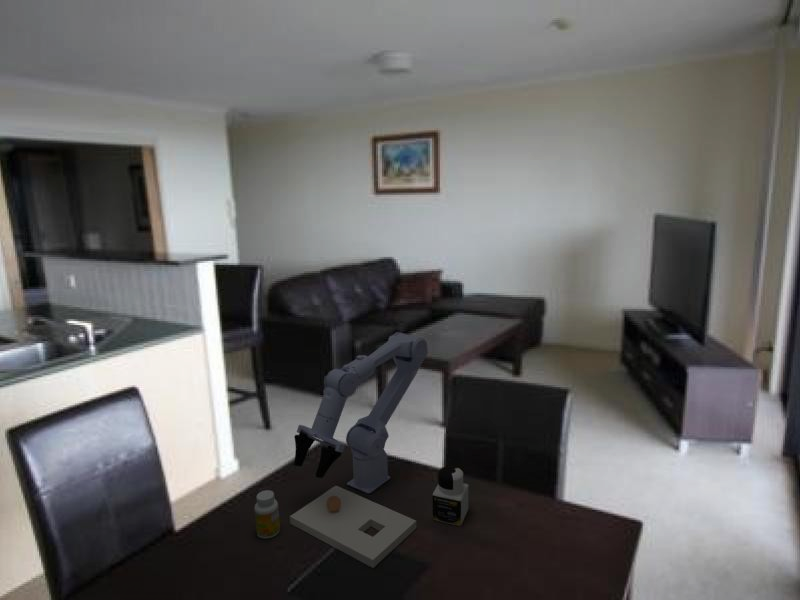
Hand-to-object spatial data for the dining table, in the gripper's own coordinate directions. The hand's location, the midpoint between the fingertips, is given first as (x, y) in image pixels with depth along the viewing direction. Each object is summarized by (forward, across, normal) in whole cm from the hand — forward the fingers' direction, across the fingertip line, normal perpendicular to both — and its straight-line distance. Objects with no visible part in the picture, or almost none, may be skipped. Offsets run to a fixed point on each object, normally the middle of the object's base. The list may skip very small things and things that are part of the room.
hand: (308, 471), depth 125 cm
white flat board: (+8, +12, +8) cm, 17 cm away
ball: (+5, +6, +6) cm, 10 cm away
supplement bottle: (+16, -3, -3) cm, 16 cm away
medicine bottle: (-1, +29, +23) cm, 37 cm away
